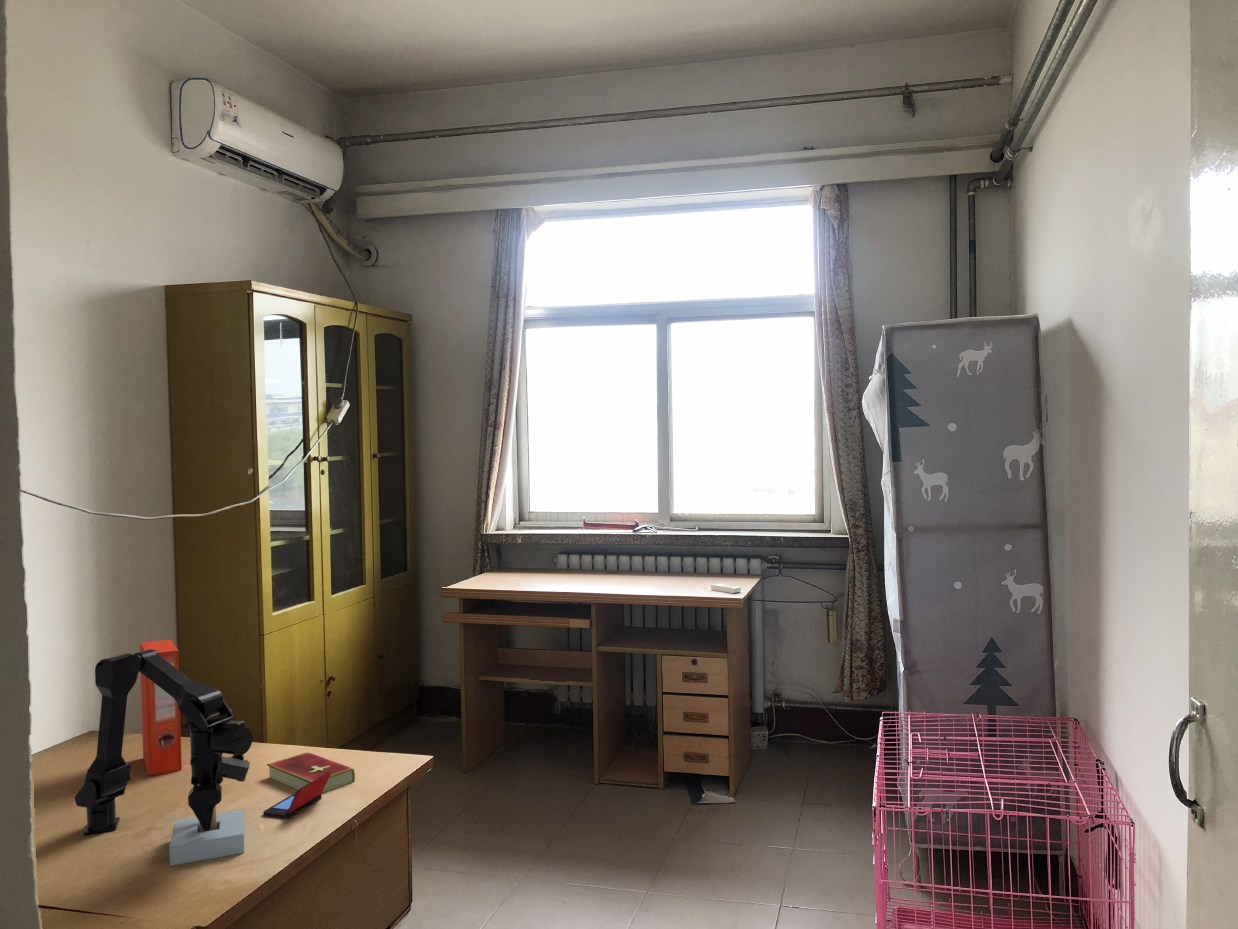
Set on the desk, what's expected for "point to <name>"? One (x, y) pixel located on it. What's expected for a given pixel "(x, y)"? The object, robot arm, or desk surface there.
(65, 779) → the desk surface
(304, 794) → the handheld game console
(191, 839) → the socket block
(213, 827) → the peg
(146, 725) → the file binder
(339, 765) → the hardcover book
